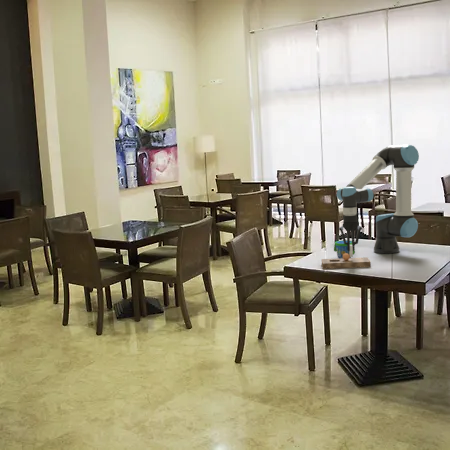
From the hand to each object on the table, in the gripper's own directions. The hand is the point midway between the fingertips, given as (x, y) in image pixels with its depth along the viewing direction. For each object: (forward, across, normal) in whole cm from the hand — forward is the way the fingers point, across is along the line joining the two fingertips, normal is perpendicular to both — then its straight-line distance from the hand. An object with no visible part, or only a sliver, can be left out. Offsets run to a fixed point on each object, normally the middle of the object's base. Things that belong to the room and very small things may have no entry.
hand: (351, 256), depth 325 cm
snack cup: (+5, -2, +19) cm, 20 cm away
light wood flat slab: (+5, -3, 0) cm, 6 cm away
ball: (0, -3, 0) cm, 3 cm away
